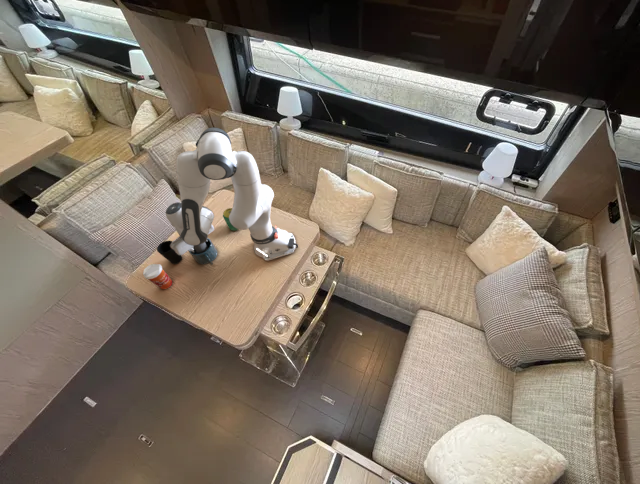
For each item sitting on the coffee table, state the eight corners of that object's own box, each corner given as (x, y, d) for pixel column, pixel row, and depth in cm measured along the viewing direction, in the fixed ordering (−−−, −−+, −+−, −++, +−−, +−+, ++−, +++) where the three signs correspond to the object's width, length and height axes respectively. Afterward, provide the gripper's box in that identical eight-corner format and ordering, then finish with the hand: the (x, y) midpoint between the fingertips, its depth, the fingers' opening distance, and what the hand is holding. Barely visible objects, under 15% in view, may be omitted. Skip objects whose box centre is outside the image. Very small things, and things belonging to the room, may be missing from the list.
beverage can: (244, 220, 165) (238, 206, 155) (242, 230, 160) (236, 217, 150) (230, 221, 164) (223, 207, 155) (227, 231, 159) (220, 218, 150)
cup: (178, 267, 143) (167, 254, 134) (165, 264, 144) (153, 251, 135) (187, 254, 148) (177, 242, 139) (174, 252, 149) (163, 239, 140)
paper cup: (164, 294, 133) (148, 280, 123) (154, 286, 136) (138, 272, 125) (178, 281, 138) (164, 267, 127) (168, 274, 140) (154, 259, 130)
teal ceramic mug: (192, 254, 148) (184, 244, 141) (212, 243, 153) (206, 233, 146) (203, 272, 142) (196, 263, 135) (224, 260, 147) (218, 251, 140)
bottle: (208, 257, 144) (196, 241, 133) (196, 257, 144) (184, 240, 133) (211, 248, 148) (201, 231, 137) (200, 247, 148) (189, 230, 136)
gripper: (172, 248, 124) (186, 263, 135) (210, 219, 135) (220, 236, 146) (164, 241, 126) (177, 257, 137) (202, 213, 137) (212, 230, 148)
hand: (200, 246), depth 141 cm, fingers closed on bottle, 6 cm apart
